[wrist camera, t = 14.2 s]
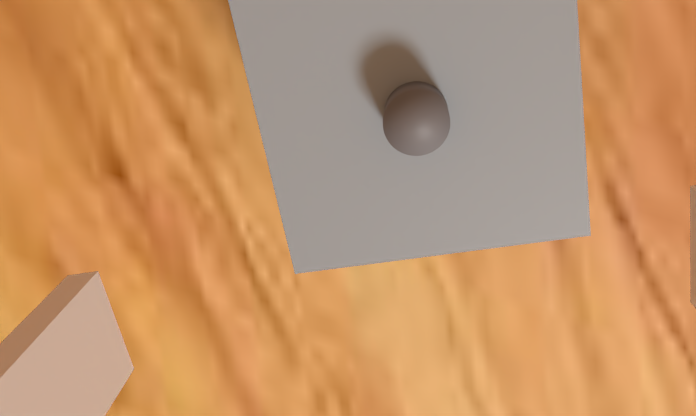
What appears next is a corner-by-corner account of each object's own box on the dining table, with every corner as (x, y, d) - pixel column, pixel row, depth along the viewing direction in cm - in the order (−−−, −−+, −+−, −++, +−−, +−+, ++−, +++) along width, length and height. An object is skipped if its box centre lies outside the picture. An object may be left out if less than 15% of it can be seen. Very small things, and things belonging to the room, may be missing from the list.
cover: (332, 162, 42) (288, 292, 27) (290, -40, 37) (209, -21, 22) (528, 132, 40) (601, 253, 25) (509, -85, 36) (583, -97, 20)
